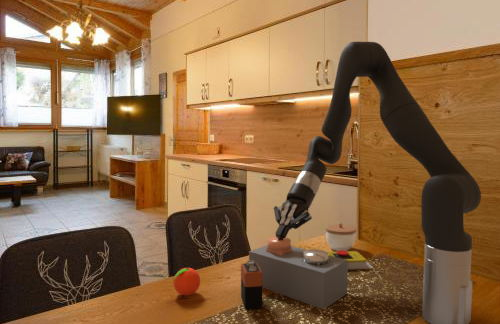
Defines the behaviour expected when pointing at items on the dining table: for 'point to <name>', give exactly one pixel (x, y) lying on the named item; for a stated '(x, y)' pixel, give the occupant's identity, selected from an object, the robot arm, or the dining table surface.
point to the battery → (251, 285)
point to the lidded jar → (340, 236)
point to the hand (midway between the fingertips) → (279, 237)
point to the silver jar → (315, 257)
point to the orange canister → (279, 246)
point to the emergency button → (352, 259)
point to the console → (302, 276)
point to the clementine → (186, 281)
